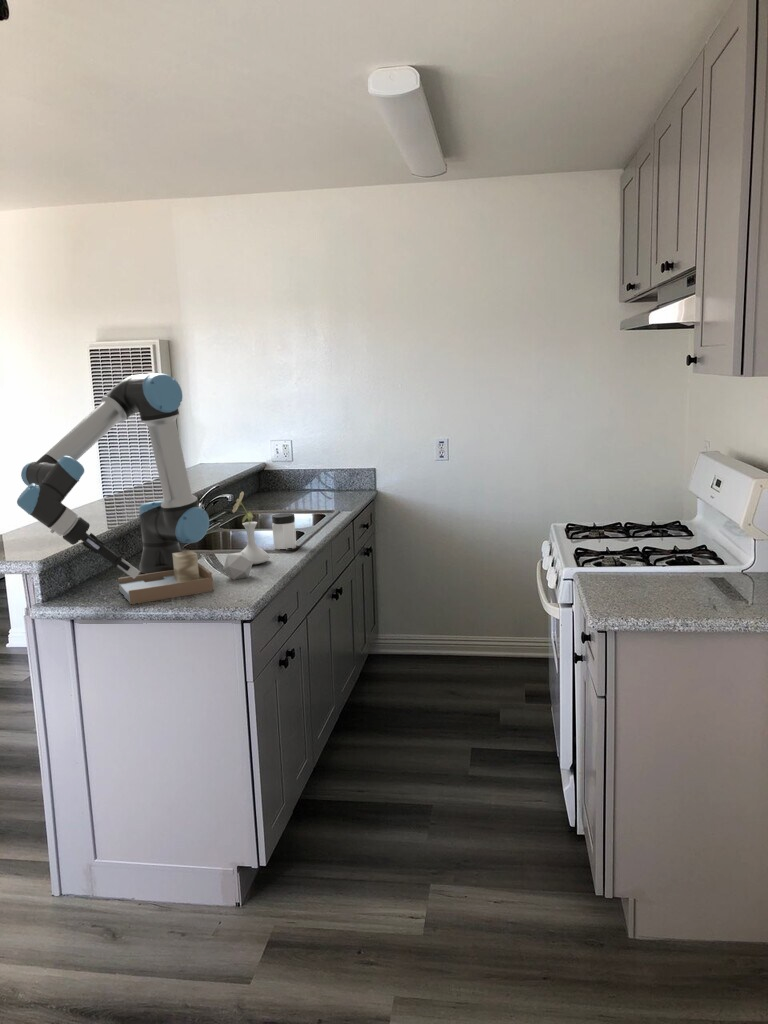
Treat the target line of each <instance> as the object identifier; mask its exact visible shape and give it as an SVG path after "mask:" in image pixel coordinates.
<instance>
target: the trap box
mask: <svg viewBox="0 0 768 1024" xmlns="http://www.w3.org/2000/svg"><path fill="white" fill-rule="evenodd" d="M198 570H199V579H198V580H192V581H185V582H178V581H177V580H175V576H174V570H169V571H163V572H156V573H149V574H145V573H142V574H138V575H137V576H136V578H135V579H133V578H132V577H131V576H123V577H118V591H119V592H120V594H121V595H122V594H123V595H124V596H123V595H122V596H123V597H124V599H127V600H128V601H129V602H130V603H129V602H128V601H127V600H126V601H127V602H128V603H129V605H131V604H132V605H135V604H134V603H138V604H142V603H144V604H145V603H149V602H154V601H160V600H165V599H173V598H179V597H183V596H184V597H185V596H191V595H196V594H202V593H203V594H204V593H207V592H213V591H214V580H213V573H212V571H211V570H209V569H208V568H206V567H205V566H203V565H202V564H200V563H199V562H198Z"/></svg>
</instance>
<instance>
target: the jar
mask: <svg viewBox="0 0 768 1024" xmlns="http://www.w3.org/2000/svg"><path fill="white" fill-rule="evenodd" d="M295 519H296V518H295V513H292V512H284V513H283V512H281V513H276V514H272V515H271V522H272V524H271V525H272V537H273V538H272V539H273V549H274V550H280V549H286V548H289V547H290V548H292V549H296V548H297V533H296V522H295ZM286 550H287V549H286Z"/></svg>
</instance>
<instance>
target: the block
mask: <svg viewBox="0 0 768 1024" xmlns="http://www.w3.org/2000/svg"><path fill="white" fill-rule="evenodd" d="M172 555H173V566H174V576H175V580H177V581H178V582H185V581H192V580H198V579H199V570H198V563H199V561H198V554H197V553H196V552H195V551H194V550H187V551H182V552H178V553H172Z"/></svg>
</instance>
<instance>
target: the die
mask: <svg viewBox="0 0 768 1024" xmlns="http://www.w3.org/2000/svg"><path fill="white" fill-rule="evenodd" d="M252 564H253V562H252V561H251V560H250V559H249V558H248V557H247V556H246V555H245V554H244V553H243V552H241V551H239V552H235V553H234V552H233V553H228V554H227V556H226V559H225V562H224V566H223V568H222V571H224V572H225V573H226V574H227V575H228V576H229V577H230V578H231V579H232V580H233V581H235V580H241V579H246V578H249V576H250V574H251V570H252V566H253V565H252Z"/></svg>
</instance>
